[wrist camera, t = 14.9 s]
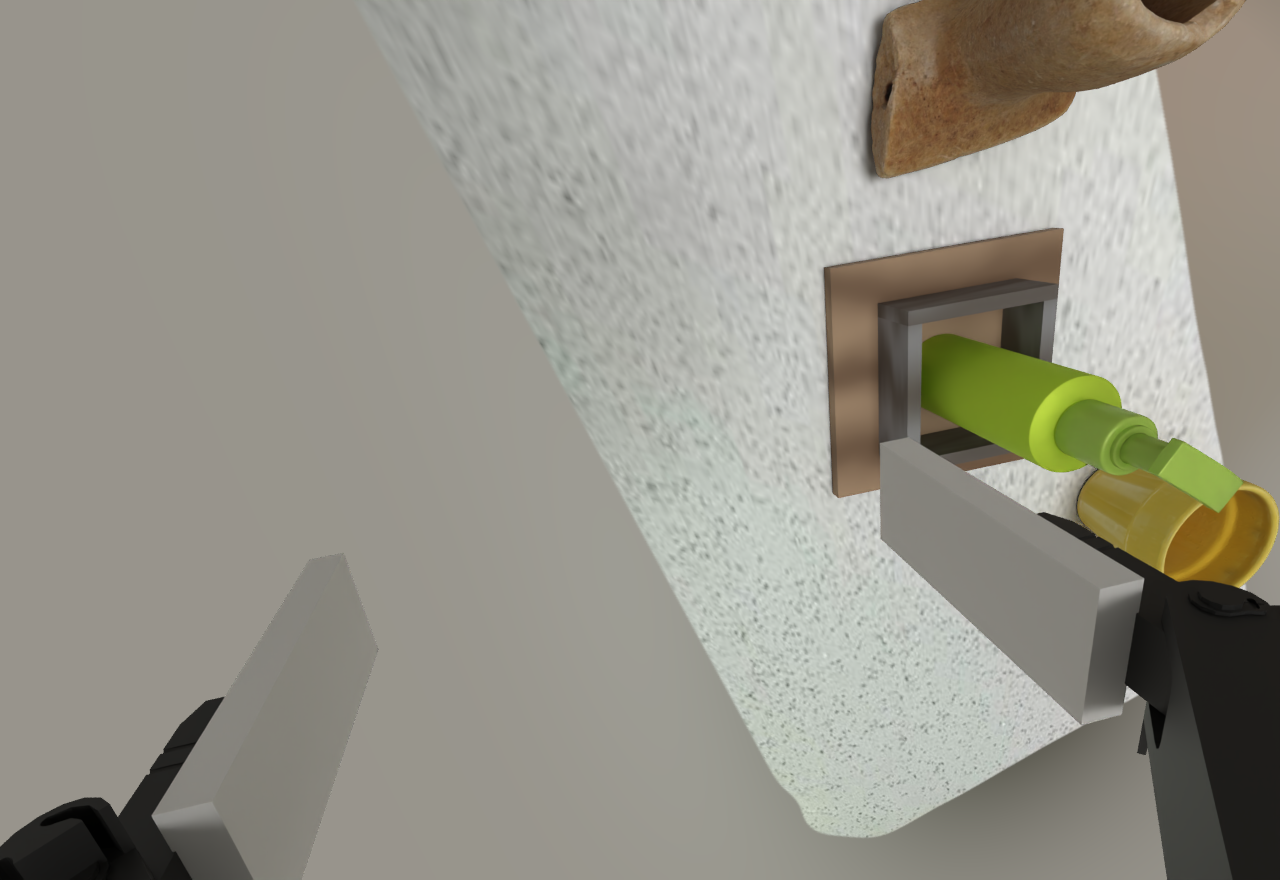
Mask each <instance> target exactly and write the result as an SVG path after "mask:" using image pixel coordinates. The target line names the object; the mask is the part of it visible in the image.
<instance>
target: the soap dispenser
mask: <svg viewBox="0 0 1280 880" xmlns="http://www.w3.org/2000/svg"><path fill="white" fill-rule="evenodd" d="M921 407H922V408H924V409H926V410H928V411H930V412H932V413H934V414H936V415H938V416H940V417H942V418H944V419H946V420H948V421H950V422H952V423H954V424H956V425H958V426H960V427H962V428H964V429H966V430H968V431H970V432H972V433H974V434H976V435H978V436H980V437H982V438H984V439H986V440H988V441H990V442H992V443H994V444H996V445H998V446H1000V447H1002V448H1004V449H1006V450H1008V451H1010V452H1012V453H1014V454H1016V455H1018V456H1020V457H1022V458H1024V459H1026V460H1028V461H1030V462H1032V463H1034V464H1036V465H1038V466H1040V467H1042V468H1044V469H1047V470H1049V471H1053V472H1070V471H1074V470H1077V469H1080V468H1082V467H1084V466H1086V465H1088V464H1089V465H1091V466H1093V467H1095V468H1098V469H1100V470H1102V471H1104V472H1106V473H1109V474H1112V475H1118V476H1120V475H1126V474H1129V473H1132V472H1134V471H1136V470H1138V469H1141V470H1144V471H1146V472H1148V473H1151V474H1153V475H1155V476H1157V477H1159V478H1160V479H1162V480H1164V481H1165V482H1167V483H1169V484H1170V485H1172V486H1174V487H1175V488H1177V489H1179V490H1180V491H1182V492H1184V493H1185V494H1187V495H1189V496H1190V497H1192V498H1194V499H1195V500H1197V501H1198V502H1200V503H1201V504H1203V505H1204V506H1206V507H1208V508H1209V509H1212V510H1214V511H1216V512H1218V513H1219V512H1220V511H1221V510H1222V509H1223V507H1224V506H1225V505H1226V504H1227V503H1228V501H1229V500H1230V499H1231V498H1232V496H1233V495H1234V494H1235V493H1236V491H1237V490H1238V489H1239V488H1240V486H1241V485H1242V484H1243V481H1242V480H1241V479H1240V478H1239V477H1237V476H1236V475H1235V474H1234V473H1233V472H1231V471H1230V470H1228V469H1227V468H1226V467H1224V466H1223V465H1221V464H1219V463H1218V462H1216V461H1215V460H1213V459H1212V458H1210V457H1208V456H1207V455H1205V454H1203V453H1202V452H1200V451H1199V450H1197V449H1195V448H1194V447H1192V446H1190V445H1189V444H1187V443H1185V442H1184V441H1181V440H1178V439H1175V438H1172V439H1171V440H1170V442H1169V443H1168V442H1165V441H1162V440H1159V439H1158V433H1157V429H1156V426H1155V424H1154V423H1153V422H1152V421H1151V420H1150V419H1149V418H1147V417H1145V416H1142V415H1140V414H1137V413H1134V412H1131V411H1128V410H1125V409H1122V405H1121V399H1120V396H1119V393H1118V391H1117V390H1116V388H1115V387H1114V386H1113V385H1112V384H1111V383H1110V382H1109V381H1108V380H1106V379H1104V378H1102V377H1099V376H1095V375H1092V374H1088V373H1085V372H1081V371H1078V370H1075V369H1071V368H1068V367H1064V366H1061V365H1057V364H1054V363H1051V362H1047V361H1044V360H1040V359H1037V358H1033V357H1030V356H1027V355H1023V354H1020V353H1016V352H1013V351H1009V350H1006V349H1003V348H999V347H996V346H992V345H989V344H985V343H982V342H979V341H975V340H972V339H968V338H965V337H961V336H958V335H954V334H940V335H936V336H933V337H931V338H929V339H927V340H926V341H924V342H923V343H922V367H921Z"/></svg>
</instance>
